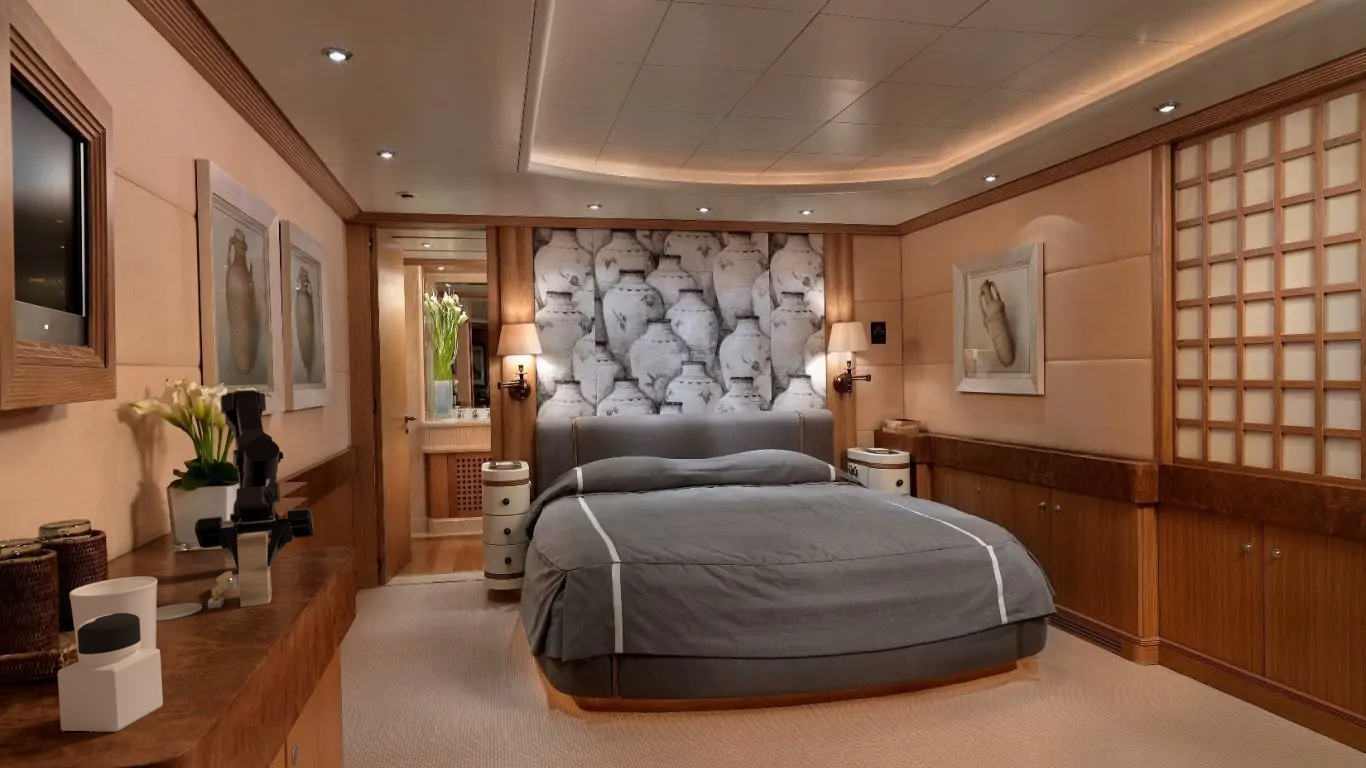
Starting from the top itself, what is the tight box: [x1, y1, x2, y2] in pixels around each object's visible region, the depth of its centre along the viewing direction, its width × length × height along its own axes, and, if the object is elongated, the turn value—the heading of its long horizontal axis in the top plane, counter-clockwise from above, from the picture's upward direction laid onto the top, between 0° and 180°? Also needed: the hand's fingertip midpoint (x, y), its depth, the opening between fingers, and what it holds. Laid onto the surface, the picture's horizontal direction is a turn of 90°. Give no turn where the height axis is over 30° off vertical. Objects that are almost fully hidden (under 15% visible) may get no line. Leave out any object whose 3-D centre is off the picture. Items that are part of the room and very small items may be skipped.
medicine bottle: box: [57, 613, 164, 733], centre depth 93 cm, size 7×7×12 cm
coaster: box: [156, 602, 203, 622], centre depth 137 cm, size 9×9×1 cm
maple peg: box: [237, 532, 273, 608], centre depth 141 cm, size 4×4×12 cm
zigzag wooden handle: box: [207, 570, 237, 610], centre depth 147 cm, size 16×3×3 cm, turn 21°
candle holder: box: [68, 575, 158, 662], centre depth 109 cm, size 10×10×12 cm
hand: (253, 567), depth 140 cm, fingers closed on maple peg, 4 cm apart
